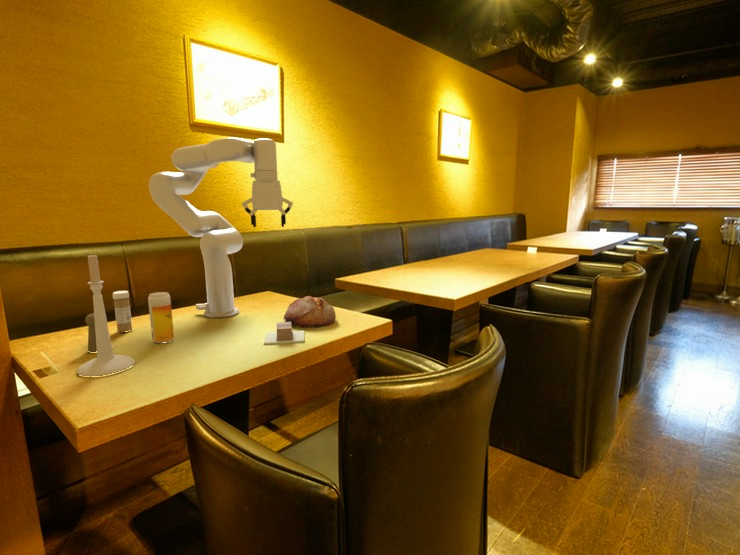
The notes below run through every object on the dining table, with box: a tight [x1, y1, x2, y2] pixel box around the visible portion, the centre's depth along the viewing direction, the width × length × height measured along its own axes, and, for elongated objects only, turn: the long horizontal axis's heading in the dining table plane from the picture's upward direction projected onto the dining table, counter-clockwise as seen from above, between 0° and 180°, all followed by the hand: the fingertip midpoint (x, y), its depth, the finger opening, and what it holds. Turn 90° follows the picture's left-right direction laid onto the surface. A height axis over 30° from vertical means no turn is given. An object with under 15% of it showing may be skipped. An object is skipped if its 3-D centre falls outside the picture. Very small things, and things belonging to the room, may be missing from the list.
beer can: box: [147, 291, 175, 344], centre depth 131 cm, size 6×6×15 cm
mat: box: [263, 330, 305, 346], centre depth 133 cm, size 12×10×1 cm
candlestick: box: [76, 254, 136, 377], centre depth 109 cm, size 13×13×30 cm
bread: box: [283, 295, 337, 328], centre depth 151 cm, size 16×20×10 cm
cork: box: [85, 312, 108, 352], centre depth 124 cm, size 6×6×11 cm
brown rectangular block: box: [276, 321, 293, 340], centre depth 133 cm, size 7×4×4 cm, turn 12°
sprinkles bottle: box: [112, 290, 133, 333], centre depth 141 cm, size 5×5×13 cm
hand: (268, 226), depth 150 cm, fingers open, 9 cm apart
